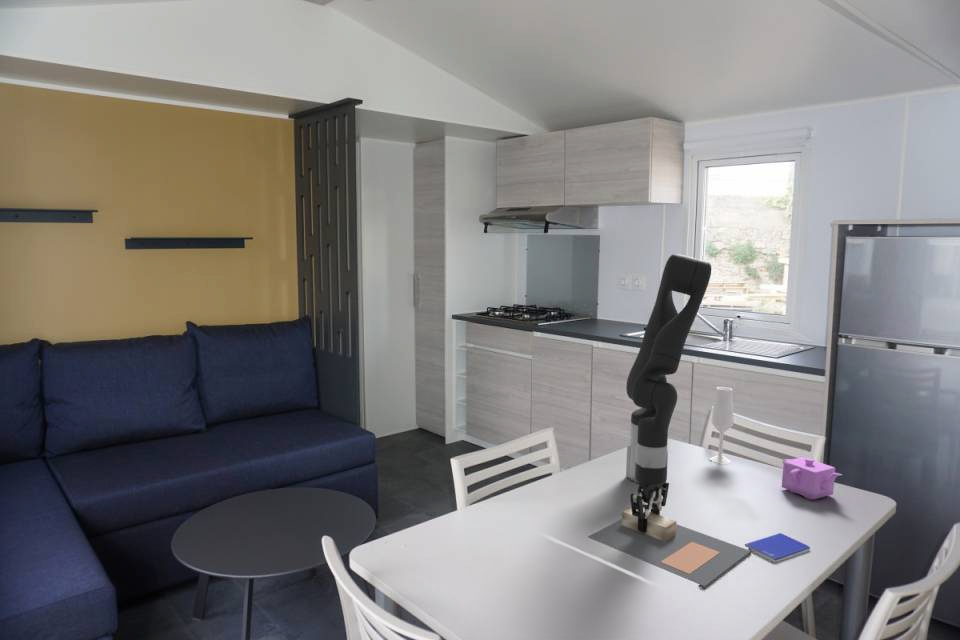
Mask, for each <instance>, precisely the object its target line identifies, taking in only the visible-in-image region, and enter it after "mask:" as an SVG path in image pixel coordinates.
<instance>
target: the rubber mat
mask: <svg viewBox="0 0 960 640" xmlns="http://www.w3.org/2000/svg"><path fill="white" fill-rule="evenodd" d="M587 538H588V539H592V541H593V540H594V541H596V542H599V543H601V544H603V545H606V546H608V547H610V548H611V549H612V548H613V549H615V550H618V551H620V552H622V553H625V554H627V555H630V556H632V557H633V558H636V559H639V560H642V561H644V562H646V563H648V564H651V565H653V566H656V567H658V568H660V569H663V570H665V571H667V572H669V573H672V574H674V575H677V576H680V577H682V578H684V579H687V580H689V581H691V582H694V583H696V584H698V587H699V586H700V587H699V588H701V587H702V589H704V588H705V589H706V588H708V587H709V586H711V584H713V583H714V582H716V581H717V580H718V579H719V578H721V577H722V576H723V575H724V574H726V573H727V572H729V571H730V570H731V569H732V568H734V567H735V566H737V565H738V564H739V563H740V562H742V561H743V560H745V559H746V558H747V557H749V556H750V555H751V553H752V551H750V550H748V548H744V547H740V546H739V545H736V544H732V543H729V542H727V541H725V540H722V539H719V538H716V537H713V536H710V535H708V534H705V533H703V532H702V533H701V532H699V531H697V530H693V529H691V528H688V527H686V526H683V525H680V524H677V523H676V535H675V536H673V537H672V538H670V539H668V540H667V541H662V540H659V539H657V538H654V537H652V536H649V535H646V534H644V533H641V532H639V531H636V530H634V529H631V528H628V527H626V526H623V525H622V518H621V519H619V520H617V521H615V522H613V523H612V524H609V525H607V526H606V527H603V528H602V529H600V530H598V531H596V532H594V533H592V534H590V535H587ZM716 579H717V580H716ZM707 586H708V587H707Z"/></svg>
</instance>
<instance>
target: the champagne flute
mask: <svg viewBox="0 0 960 640" xmlns="http://www.w3.org/2000/svg"><path fill="white" fill-rule="evenodd" d="M733 399H734V397H733V388H731V387H727V386H717V387H716V388H715V395H714V402H713V408H712V414H711V424H712V426H713V427H714V428H715V430H717V431H718V432H719V441H718V442H719V443H718V454H717V455H715V456H712V457H710V458H709V459H710V460H712V461H714V462H716V463H715V464H717V463H720V464H719V465H729V463H730V462H731V463H732V461H731V460H730V459H729V458H727V457H726V456H724V455H723V449H724V433H725V432H727V431H728V430H729V429H731V428H732V427H733V425H734V400H733ZM710 460H709V461H710ZM731 463H730V464H731Z"/></svg>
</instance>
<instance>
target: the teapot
mask: <svg viewBox="0 0 960 640" xmlns="http://www.w3.org/2000/svg"><path fill="white" fill-rule="evenodd" d="M781 476H782V477H781V488H783V489H786V490H788V491H789V492H790V493H792V494H798V495H801V496H803V497H804V498H805V499H807V500H814V501H815V500H817V499H818V500H819V499H821V498H824V497H827V496H828V497H829V496H832V495H834V487H835V480H836V478H837V477H839V476H843V474H841V473H839V472H836V467H834V466H832V465H828V464H826V463H823V462H820V461H817V460H814V459H813V458H810V457H808V458H807V457H804V456H802V457H801V456H800V457H796V458H792V459H788V458H785V459H782V475H781Z"/></svg>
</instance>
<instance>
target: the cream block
mask: <svg viewBox="0 0 960 640" xmlns="http://www.w3.org/2000/svg"><path fill="white" fill-rule="evenodd" d="M636 511H637V509H636ZM644 511H645V509H643V513H644ZM621 515H622V516H621V519H622V525H623V526H626V527H628V528H631V529H634V530H636V531H638V517H636V516H633V515H632V508H631V507H629V508H627V509H625V510H623V511H622V513H621ZM647 518H648V521H647V532H645V533H644V534H646V535H649V536H652V537H654V538H657V539H659V540H662V541H667V540H668V539H670V538H672V537H673V536H675V535H676V524H677V520H675V519H674V520H673V519H671V518H669V517H665V516H663V515H661V514H660V515H657V514H654V513H652V512H651V511H649V512H648V516H647ZM639 532H640V531H639ZM641 533H643V532H641Z"/></svg>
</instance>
